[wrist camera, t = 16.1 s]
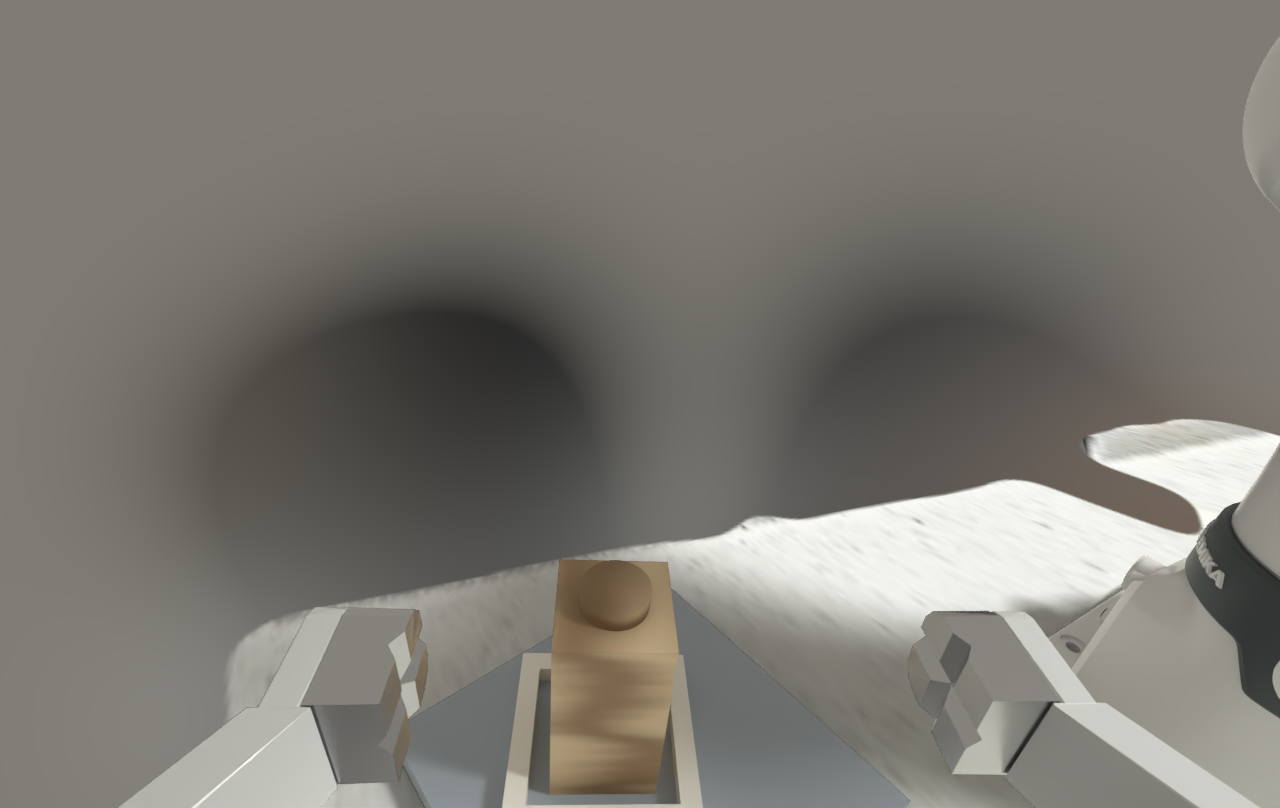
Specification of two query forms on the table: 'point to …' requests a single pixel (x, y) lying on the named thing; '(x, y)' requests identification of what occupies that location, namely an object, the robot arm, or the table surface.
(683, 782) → the socket frame
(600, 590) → the oak pillar
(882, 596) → the table surface
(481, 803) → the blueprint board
